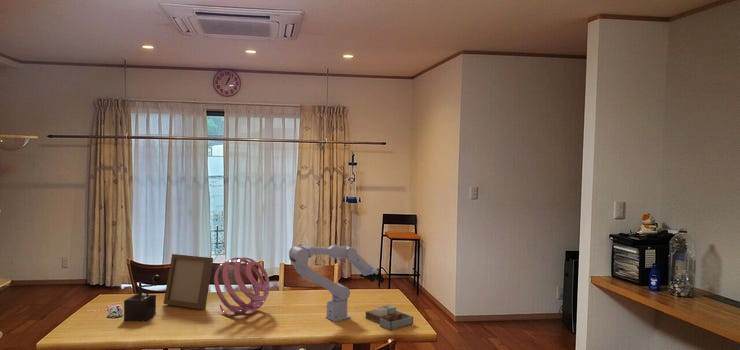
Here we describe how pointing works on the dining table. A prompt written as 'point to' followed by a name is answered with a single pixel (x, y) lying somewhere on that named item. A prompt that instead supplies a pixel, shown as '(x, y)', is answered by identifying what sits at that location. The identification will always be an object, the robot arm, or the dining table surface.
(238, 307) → the spiral basket
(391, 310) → the sage tile
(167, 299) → the photo frame
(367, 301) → the dining table surface
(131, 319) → the manual coffee grinder
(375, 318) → the board
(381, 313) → the beige block
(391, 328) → the tray
